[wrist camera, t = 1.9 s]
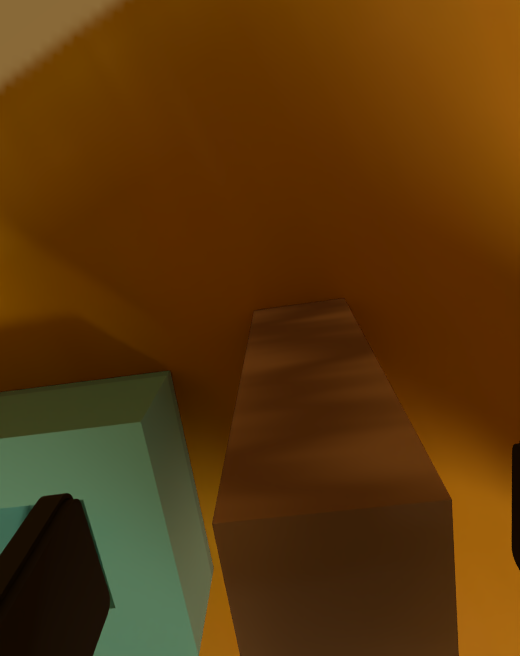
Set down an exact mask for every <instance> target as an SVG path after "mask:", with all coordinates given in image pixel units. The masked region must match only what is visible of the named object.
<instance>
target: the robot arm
mask: <svg viewBox="0 0 520 656" xmlns="http://www.w3.org/2000/svg"><path fill="white" fill-rule="evenodd" d="M512 553H513V557H514V560H515V562H516V564H517V566H518V568H519V570H520V443H519V444H515V445H513V448H512ZM109 607H110V595H109V590H108V587H107V584H106V581H105V578H104V574H103V571H102V568H101V565H100V562H99V558H98V555H97V552H96V549H95V545H94V542H93V539H92V536H91V533H90V529H89V526H88V523H87V520H86V517H85V513H84V510H83V507H82V504H81V502H80V500H79V499H73V497H72V495H71V494H69V493H63V494H55V495H47V496H42V497H41V498H40V499H39V500H38V501H37V502H36V504H35V505H34V507H33V508H32V510H31V511H30V512H29V514H28V515H27V517H26V518H25V520H24V521H23V523H22V524H21V525H20V527H19V528H18V530H17V531H16V533H15V534H14V536H13V537H12V538H11V540H10V541H9V543H8V544H7V546H6V547H5V549H4V550H3V551H2V553H1V554H0V656H93V655H94V652H95V649H96V646H97V643H98V641H99V638H100V635H101V632H102V629H103V626H104V624H105V621H106V618H107V615H108V612H109Z"/></svg>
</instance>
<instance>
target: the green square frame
mask: <svg viewBox="0 0 520 656" xmlns="http://www.w3.org/2000/svg"><path fill="white" fill-rule="evenodd" d="M63 493H69V494H71V495H72V497H73V499H79V500H80V502H81V504H82V507H83V510H84V513H85V517H86V520H87V523H88V526H89V529H90V533H91V536H92V539H93V542H94V545H95V549H96V552H97V555H98V558H99V562H100V565H101V568H102V571H103V574H104V578H105V581H106V584H107V587H108V590H109V595H110V607H109V612H108V615H107V618H106V621H105V624H104V626H103V629H102V632H101V635H100V638H99V641H98V643H97V646H96V649H95V652H94V655H93V656H199V651H200V645H201V639H202V633H203V628H204V622H205V616H206V610H207V604H208V598H209V592H210V586H211V581H212V575H213V569H214V568H213V563H212V559H211V554H210V550H209V545H208V541H207V536H206V531H205V527H204V522H203V518H202V513H201V509H200V504H199V500H198V495H197V490H196V486H195V481H194V477H193V472H192V468H191V463H190V459H189V454H188V449H187V445H186V440H185V436H184V431H183V427H182V422H181V417H180V413H179V408H178V404H177V399H176V395H175V390H174V386H173V381H172V376H171V372H170V371H162V372H154V373H146V374H139V375H131V376H123V377H115V378H107V379H100V380H92V381H84V382H76V383H68V384H60V385H53V386H45V387H37V388H29V389H21V390H14V391H6V392H0V554H1V553H2V551H3V550H4V549H5V547H6V546H7V544H8V543H9V541H10V540H11V538H12V537H13V536H14V534H15V533H16V531H17V530H18V528H19V527H20V525H21V524H22V523H23V521H24V520H25V518H26V517H27V515H28V514H29V512H30V511H31V510H32V508H33V507H34V505H35V504H36V502H37V501H38V500H39V499H40V498H41V497H42V496H47V495H55V494H63Z"/></svg>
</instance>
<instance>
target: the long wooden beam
mask: <svg viewBox="0 0 520 656" xmlns="http://www.w3.org/2000/svg"><path fill="white" fill-rule="evenodd" d="M212 525H213V530H214V535H215V539H216V544H217V549H218V554H219V558H220V563H221V568H222V572H223V577H224V582H225V586H226V591H227V596H228V600H229V605H230V610H231V614H232V619H233V624H234V629H235V633H236V638H237V643H238V647H239V652H240V656H459V653H458V630H457V608H456V585H455V563H454V540H453V518H452V499H451V497H450V495H449V494H448V492H447V490H446V488H445V486H444V484H443V482H442V480H441V479H440V477H439V475H438V473H437V471H436V469H435V467H434V465H433V464H432V462H431V460H430V458H429V456H428V454H427V452H426V450H425V449H424V447H423V445H422V443H421V441H420V439H419V437H418V435H417V434H416V432H415V430H414V428H413V426H412V424H411V422H410V421H409V419H408V417H407V415H406V413H405V411H404V409H403V407H402V406H401V404H400V402H399V400H398V398H397V396H396V394H395V392H394V391H393V389H392V387H391V385H390V383H389V381H388V379H387V377H386V376H385V374H384V372H383V370H382V368H381V366H380V364H379V362H378V361H377V359H376V357H375V355H374V353H373V351H372V349H371V347H370V346H369V344H368V342H367V340H366V338H365V336H364V334H363V332H362V331H361V329H360V327H359V325H358V323H357V321H356V319H355V317H354V316H353V314H352V312H351V310H350V308H349V306H348V304H347V302H346V301H345V299H344V298H342V299H334V300H327V301H320V302H312V303H305V304H298V305H290V306H283V307H276V308H268V309H261V310H254V313H253V318H252V323H251V328H250V333H249V338H248V344H247V349H246V354H245V359H244V364H243V369H242V374H241V379H240V384H239V389H238V395H237V400H236V405H235V410H234V415H233V420H232V425H231V430H230V435H229V440H228V446H227V451H226V456H225V461H224V466H223V471H222V476H221V481H220V486H219V491H218V497H217V502H216V507H215V512H214V517H213V522H212Z"/></svg>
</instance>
